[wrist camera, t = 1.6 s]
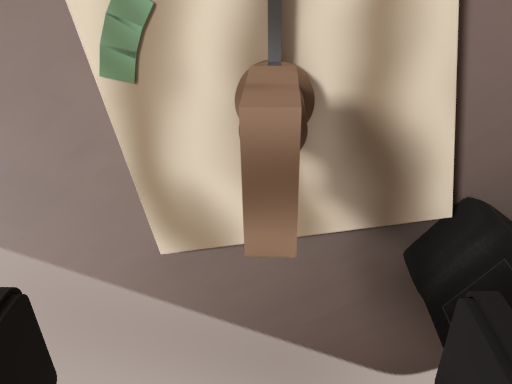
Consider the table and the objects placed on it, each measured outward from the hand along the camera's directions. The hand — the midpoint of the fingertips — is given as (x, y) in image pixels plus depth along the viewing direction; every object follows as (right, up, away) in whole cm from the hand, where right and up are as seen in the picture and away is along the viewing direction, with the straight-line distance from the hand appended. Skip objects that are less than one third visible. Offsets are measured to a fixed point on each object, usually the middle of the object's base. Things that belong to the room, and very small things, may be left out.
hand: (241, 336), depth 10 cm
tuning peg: (+1, +11, +13) cm, 17 cm away
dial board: (+1, +9, +16) cm, 19 cm away
